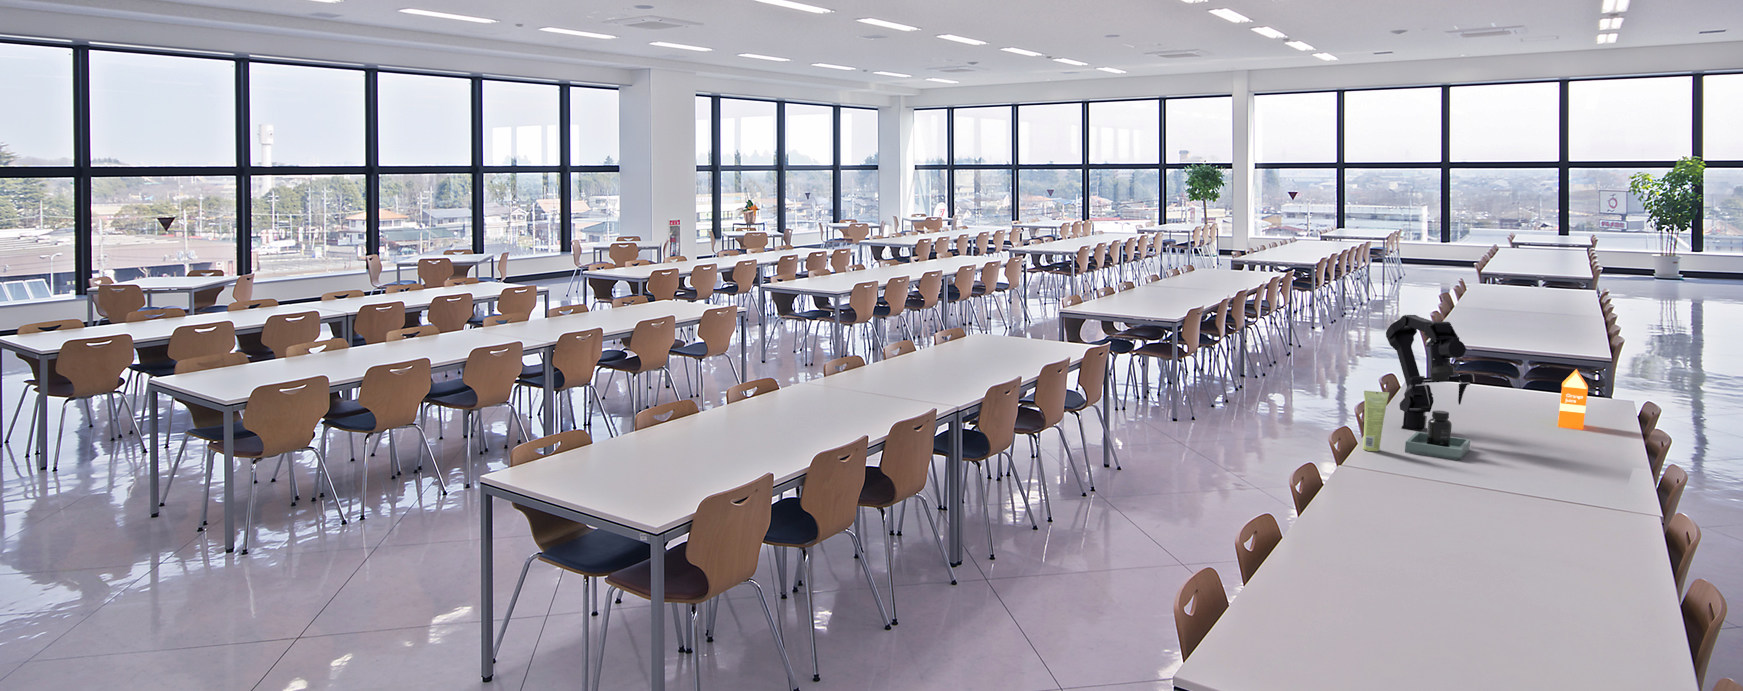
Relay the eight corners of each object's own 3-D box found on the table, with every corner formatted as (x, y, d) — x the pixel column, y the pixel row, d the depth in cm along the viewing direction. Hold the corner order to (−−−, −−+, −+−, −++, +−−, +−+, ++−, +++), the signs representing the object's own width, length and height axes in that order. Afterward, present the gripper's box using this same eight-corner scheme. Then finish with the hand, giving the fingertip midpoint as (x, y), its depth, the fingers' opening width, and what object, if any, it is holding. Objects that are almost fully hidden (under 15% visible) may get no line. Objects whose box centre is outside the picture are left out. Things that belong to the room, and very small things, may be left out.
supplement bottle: (1449, 446, 353) (1452, 410, 351) (1450, 451, 347) (1453, 415, 344) (1425, 444, 356) (1429, 408, 353) (1425, 449, 350) (1429, 413, 347)
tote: (1404, 452, 350) (1405, 441, 349) (1415, 442, 362) (1416, 431, 362) (1460, 460, 340) (1461, 449, 339) (1469, 450, 352) (1470, 439, 352)
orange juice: (1583, 424, 386) (1589, 369, 383) (1583, 429, 379) (1590, 373, 376) (1557, 421, 391) (1563, 367, 387) (1557, 426, 383) (1563, 371, 380)
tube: (1371, 447, 356) (1376, 388, 352) (1384, 450, 351) (1389, 392, 348) (1359, 449, 353) (1363, 390, 350) (1372, 452, 349) (1377, 393, 345)
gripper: (1406, 360, 362) (1409, 407, 362) (1469, 357, 352) (1473, 405, 351) (1410, 360, 372) (1414, 405, 371) (1472, 356, 361) (1476, 403, 361)
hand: (1444, 405), depth 363 cm, fingers open, 9 cm apart
